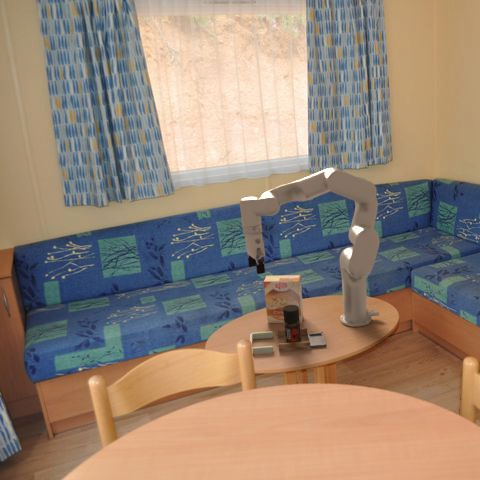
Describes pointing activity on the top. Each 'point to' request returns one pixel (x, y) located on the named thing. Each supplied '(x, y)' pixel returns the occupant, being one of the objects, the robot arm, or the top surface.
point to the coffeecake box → (282, 296)
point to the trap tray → (316, 340)
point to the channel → (293, 345)
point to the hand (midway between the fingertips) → (256, 269)
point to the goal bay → (260, 336)
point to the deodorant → (292, 323)
